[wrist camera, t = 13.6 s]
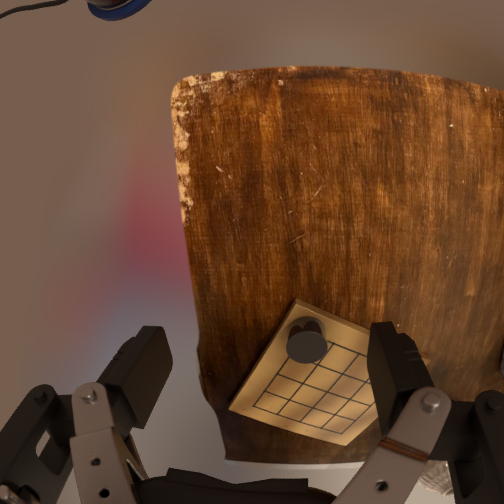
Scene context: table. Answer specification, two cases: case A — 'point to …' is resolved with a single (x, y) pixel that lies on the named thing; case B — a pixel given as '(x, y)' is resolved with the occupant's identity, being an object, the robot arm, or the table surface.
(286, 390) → the board
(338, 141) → the table surface
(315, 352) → the dark grey puck
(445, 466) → the vase
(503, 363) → the rock
